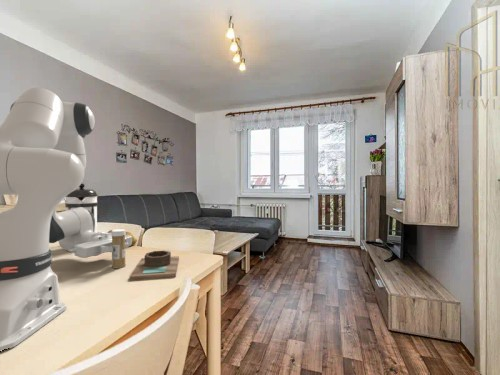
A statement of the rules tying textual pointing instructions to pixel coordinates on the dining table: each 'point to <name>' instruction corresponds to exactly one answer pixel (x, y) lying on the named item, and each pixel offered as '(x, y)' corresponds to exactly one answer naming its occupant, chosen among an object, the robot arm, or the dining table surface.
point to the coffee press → (83, 201)
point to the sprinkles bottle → (118, 248)
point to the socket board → (156, 266)
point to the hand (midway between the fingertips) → (120, 247)
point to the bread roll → (131, 236)
